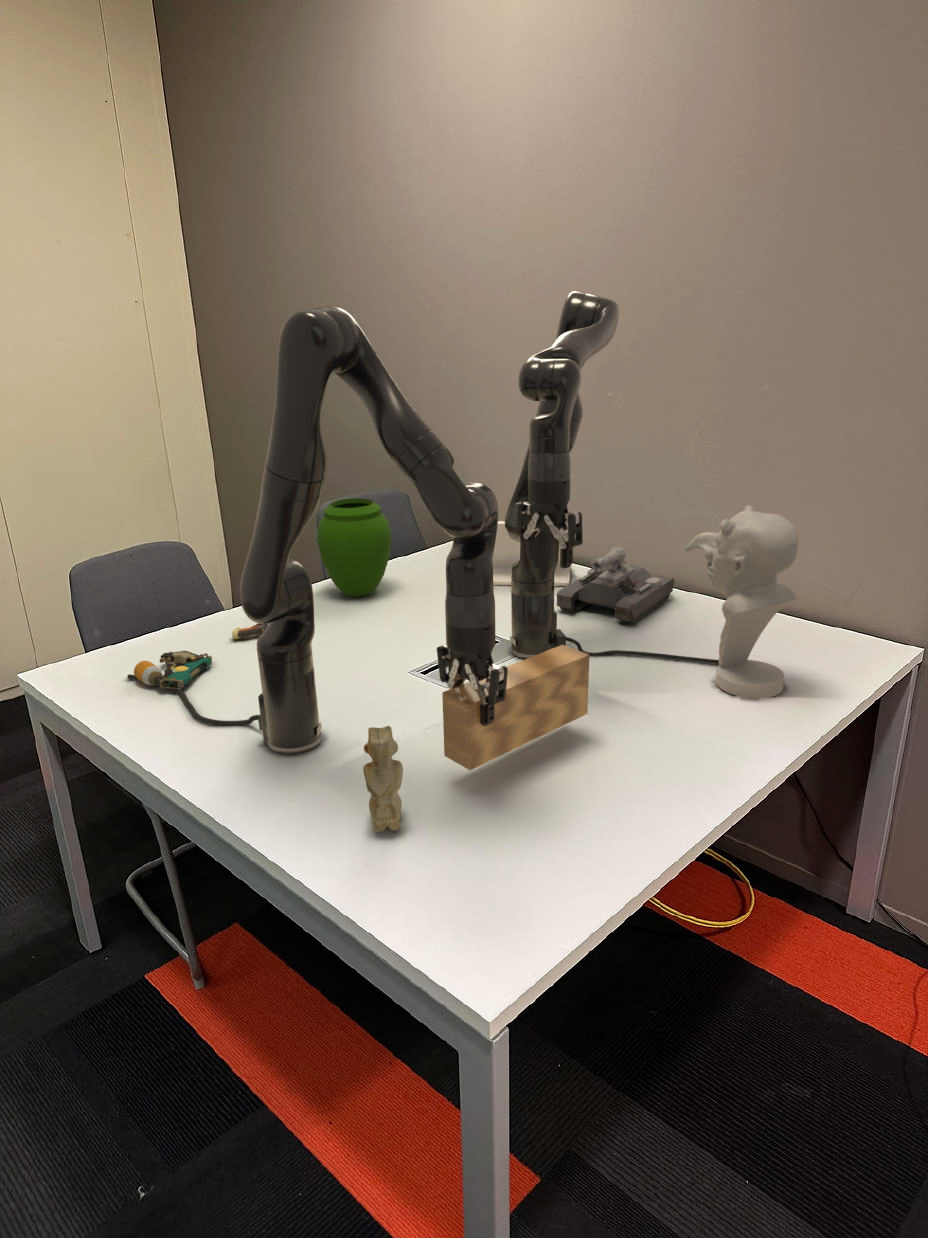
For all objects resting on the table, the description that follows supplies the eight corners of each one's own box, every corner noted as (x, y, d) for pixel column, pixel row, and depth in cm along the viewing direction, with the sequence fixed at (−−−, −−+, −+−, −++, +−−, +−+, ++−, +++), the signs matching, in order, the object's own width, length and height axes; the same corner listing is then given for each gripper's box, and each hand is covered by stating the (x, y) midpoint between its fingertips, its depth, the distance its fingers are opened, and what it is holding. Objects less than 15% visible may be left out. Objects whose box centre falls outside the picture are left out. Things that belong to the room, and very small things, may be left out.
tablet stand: (569, 585, 229) (570, 524, 223) (476, 584, 232) (475, 523, 226) (570, 566, 246) (571, 508, 240) (484, 564, 249) (483, 507, 243)
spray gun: (177, 659, 191) (231, 671, 185) (120, 684, 176) (176, 698, 171) (176, 641, 190) (230, 653, 184) (118, 665, 175) (174, 678, 169)
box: (561, 702, 154) (562, 644, 150) (587, 713, 150) (589, 654, 146) (444, 756, 137) (442, 692, 133) (470, 770, 133) (468, 705, 129)
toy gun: (228, 631, 198) (268, 628, 196) (261, 608, 215) (298, 605, 213) (230, 642, 198) (270, 639, 196) (263, 618, 216) (300, 616, 214)
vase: (409, 587, 231) (404, 499, 223) (364, 609, 216) (357, 515, 208) (353, 577, 241) (346, 492, 233) (306, 597, 226) (297, 507, 218)
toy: (603, 584, 229) (605, 530, 224) (673, 597, 218) (677, 540, 213) (555, 612, 210) (556, 553, 205) (630, 627, 199) (633, 566, 194)
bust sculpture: (717, 648, 186) (730, 489, 174) (806, 688, 166) (828, 512, 154) (660, 663, 179) (669, 500, 167) (745, 707, 159) (763, 525, 147)
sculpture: (406, 808, 131) (401, 721, 126) (405, 835, 125) (400, 745, 119) (368, 810, 131) (361, 723, 126) (365, 837, 124) (358, 747, 119)
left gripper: (421, 611, 131) (425, 709, 137) (484, 636, 121) (485, 741, 127) (457, 600, 136) (460, 695, 142) (521, 623, 126) (521, 724, 132)
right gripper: (506, 473, 155) (507, 559, 161) (564, 484, 145) (563, 575, 151) (535, 467, 159) (535, 551, 165) (593, 477, 149) (591, 566, 155)
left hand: (472, 716), depth 134 cm, fingers closed on box, 6 cm apart
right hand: (548, 562), depth 158 cm, fingers open, 8 cm apart
